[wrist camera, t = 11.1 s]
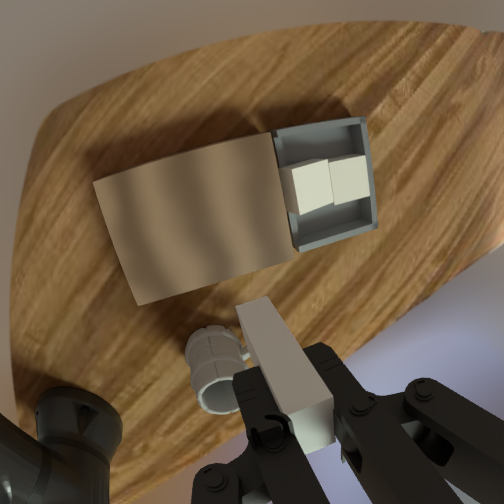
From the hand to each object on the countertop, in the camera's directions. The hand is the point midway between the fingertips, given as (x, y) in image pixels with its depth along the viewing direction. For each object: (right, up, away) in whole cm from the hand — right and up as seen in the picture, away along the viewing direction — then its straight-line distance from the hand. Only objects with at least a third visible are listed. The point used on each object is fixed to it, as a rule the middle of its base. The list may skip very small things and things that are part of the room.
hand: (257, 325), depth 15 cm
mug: (-4, -9, +28) cm, 29 cm away
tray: (+8, +12, +23) cm, 27 cm away
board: (-6, +8, +21) cm, 23 cm away
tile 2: (+5, +11, +21) cm, 24 cm away
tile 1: (+11, +12, +20) cm, 26 cm away
